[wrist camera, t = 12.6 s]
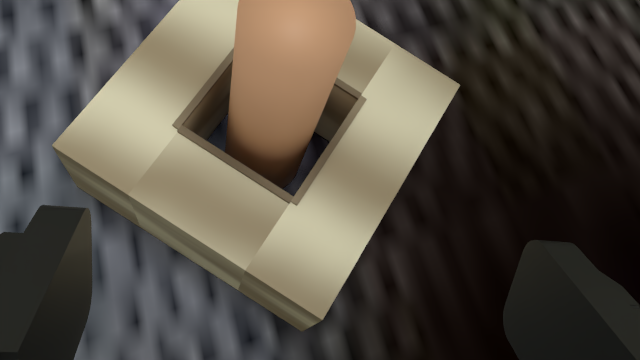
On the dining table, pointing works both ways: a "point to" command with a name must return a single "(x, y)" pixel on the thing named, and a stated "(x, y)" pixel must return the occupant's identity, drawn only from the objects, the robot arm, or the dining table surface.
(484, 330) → the dining table surface
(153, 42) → the socket
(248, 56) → the peg
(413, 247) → the dining table surface
